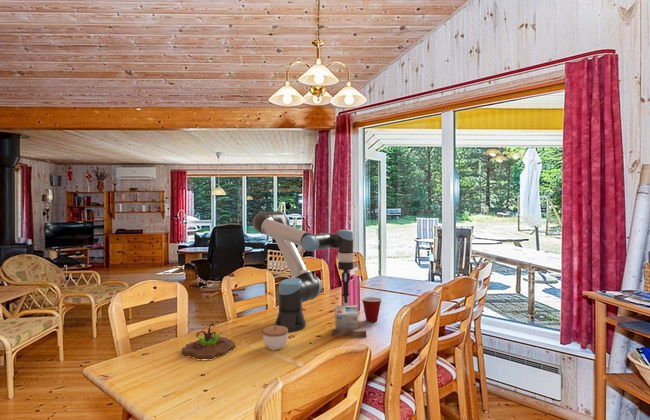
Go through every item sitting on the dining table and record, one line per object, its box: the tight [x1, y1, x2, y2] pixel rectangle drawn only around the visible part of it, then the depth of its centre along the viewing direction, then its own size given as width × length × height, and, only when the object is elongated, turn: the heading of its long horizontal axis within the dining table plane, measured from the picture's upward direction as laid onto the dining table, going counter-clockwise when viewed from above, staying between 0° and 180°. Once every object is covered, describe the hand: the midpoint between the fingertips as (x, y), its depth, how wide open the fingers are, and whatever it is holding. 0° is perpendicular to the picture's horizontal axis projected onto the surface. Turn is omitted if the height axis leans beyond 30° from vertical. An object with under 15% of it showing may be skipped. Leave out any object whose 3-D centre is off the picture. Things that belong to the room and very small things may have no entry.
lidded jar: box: [262, 325, 289, 351], centre depth 156 cm, size 11×11×9 cm
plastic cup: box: [361, 296, 383, 323], centre depth 191 cm, size 11×11×12 cm
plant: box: [181, 322, 236, 360], centre depth 153 cm, size 20×20×11 cm
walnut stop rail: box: [331, 328, 367, 338], centre depth 169 cm, size 16×2×2 cm, turn 84°
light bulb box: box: [334, 304, 359, 330], centre depth 176 cm, size 11×7×11 cm, turn 92°
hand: (345, 308), depth 178 cm, fingers closed
